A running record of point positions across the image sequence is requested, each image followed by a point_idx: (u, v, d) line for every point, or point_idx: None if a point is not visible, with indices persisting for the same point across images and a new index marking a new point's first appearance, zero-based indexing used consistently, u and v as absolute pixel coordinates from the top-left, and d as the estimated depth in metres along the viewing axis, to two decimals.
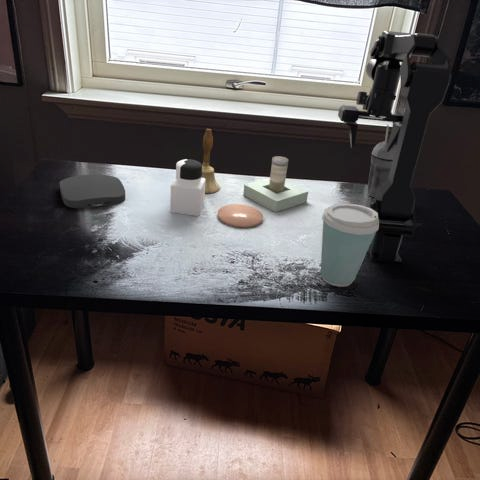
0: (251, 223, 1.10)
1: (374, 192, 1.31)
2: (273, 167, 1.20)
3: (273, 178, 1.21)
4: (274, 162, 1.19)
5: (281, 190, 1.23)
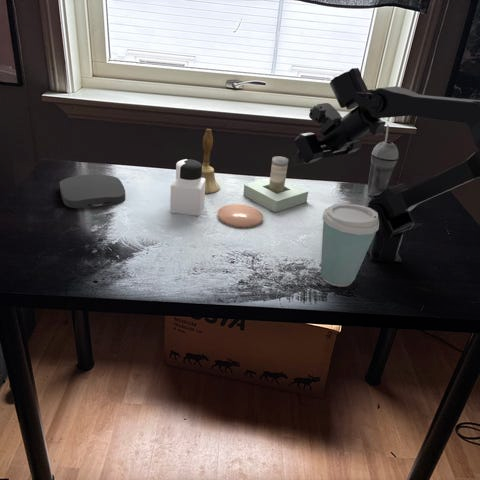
0: (251, 223, 1.10)
1: (374, 192, 1.31)
2: (273, 167, 1.20)
3: (273, 178, 1.21)
4: (274, 162, 1.19)
5: (281, 190, 1.23)
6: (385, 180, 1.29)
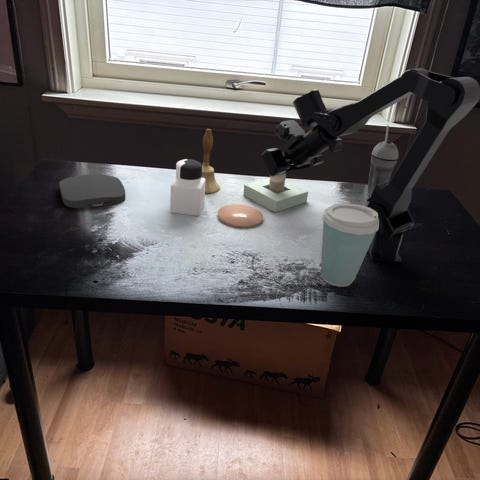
0: (251, 223, 1.10)
1: None
2: None
3: (273, 178, 1.21)
4: None
5: (281, 190, 1.23)
6: (385, 180, 1.29)
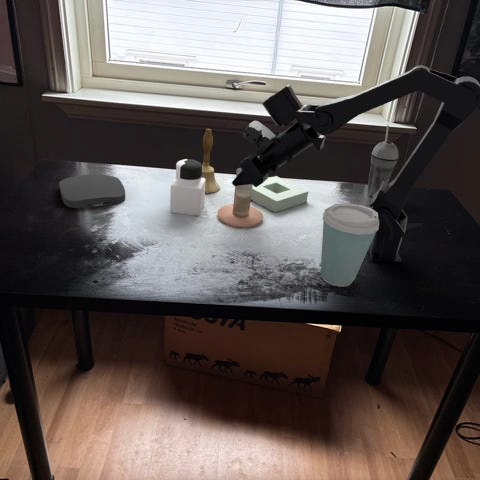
0: (251, 223, 1.10)
1: (374, 192, 1.31)
2: None
3: (241, 193, 1.09)
4: None
5: (249, 204, 1.11)
6: (385, 180, 1.29)
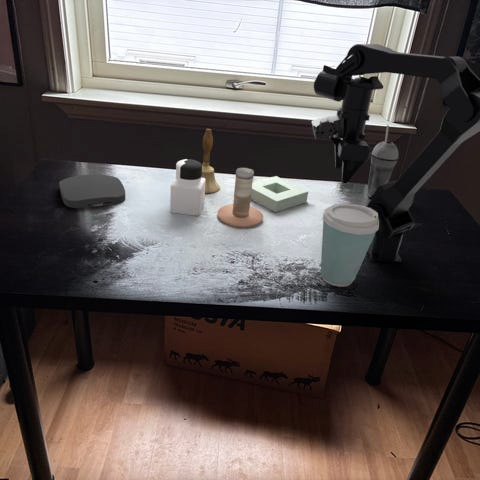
0: (251, 223, 1.10)
1: (374, 192, 1.31)
2: (240, 181, 1.08)
3: (241, 193, 1.09)
4: (241, 176, 1.07)
5: (249, 204, 1.11)
6: (385, 180, 1.29)
